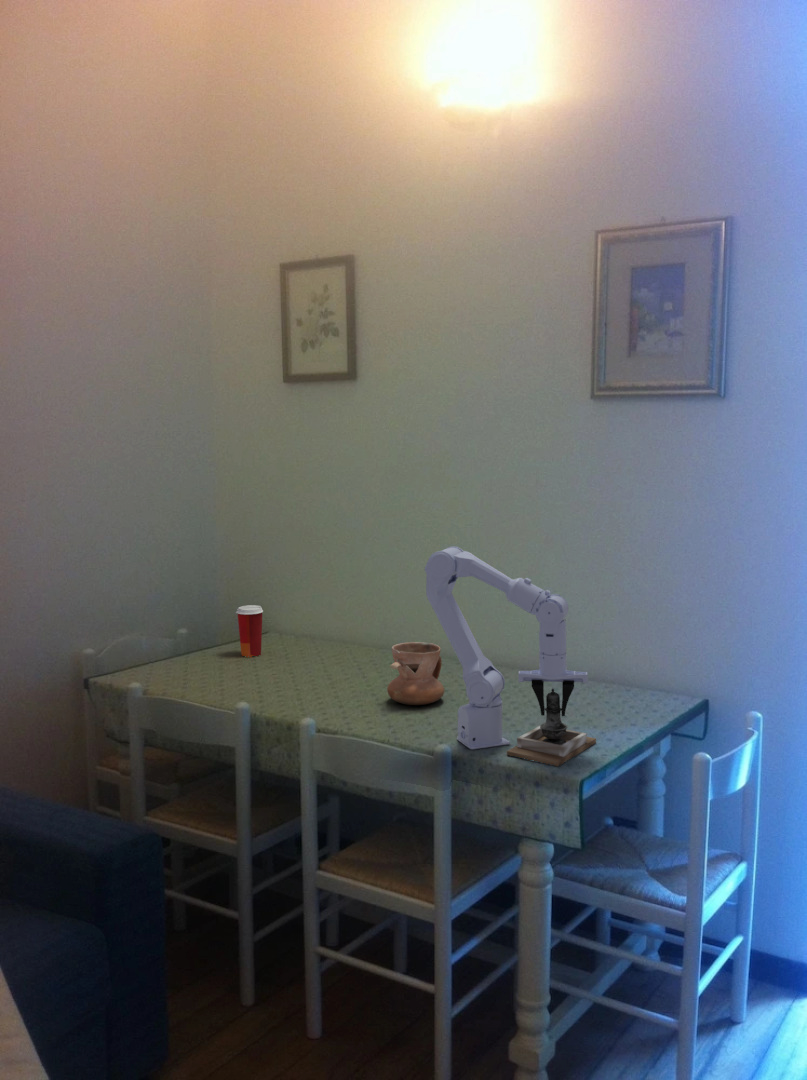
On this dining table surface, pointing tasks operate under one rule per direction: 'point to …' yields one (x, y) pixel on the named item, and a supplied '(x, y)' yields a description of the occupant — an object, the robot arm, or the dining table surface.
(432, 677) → the ceramic jug
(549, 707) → the salt shaker
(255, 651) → the coffee cup
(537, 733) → the board
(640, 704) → the dining table surface
